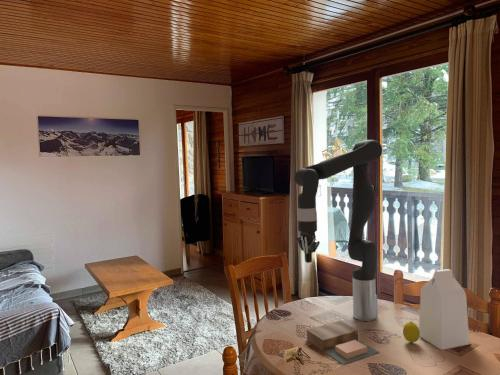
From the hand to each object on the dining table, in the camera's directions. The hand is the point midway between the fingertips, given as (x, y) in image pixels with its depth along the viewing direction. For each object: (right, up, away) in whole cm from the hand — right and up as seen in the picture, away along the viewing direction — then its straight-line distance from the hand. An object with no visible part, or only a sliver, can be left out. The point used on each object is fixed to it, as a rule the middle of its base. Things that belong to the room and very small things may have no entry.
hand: (308, 262), depth 152 cm
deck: (+8, -27, -9) cm, 30 cm away
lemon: (+35, -27, -14) cm, 46 cm away
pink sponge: (+12, -26, -19) cm, 34 cm away
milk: (+48, -26, -12) cm, 56 cm away
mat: (+12, -28, -19) cm, 36 cm away
